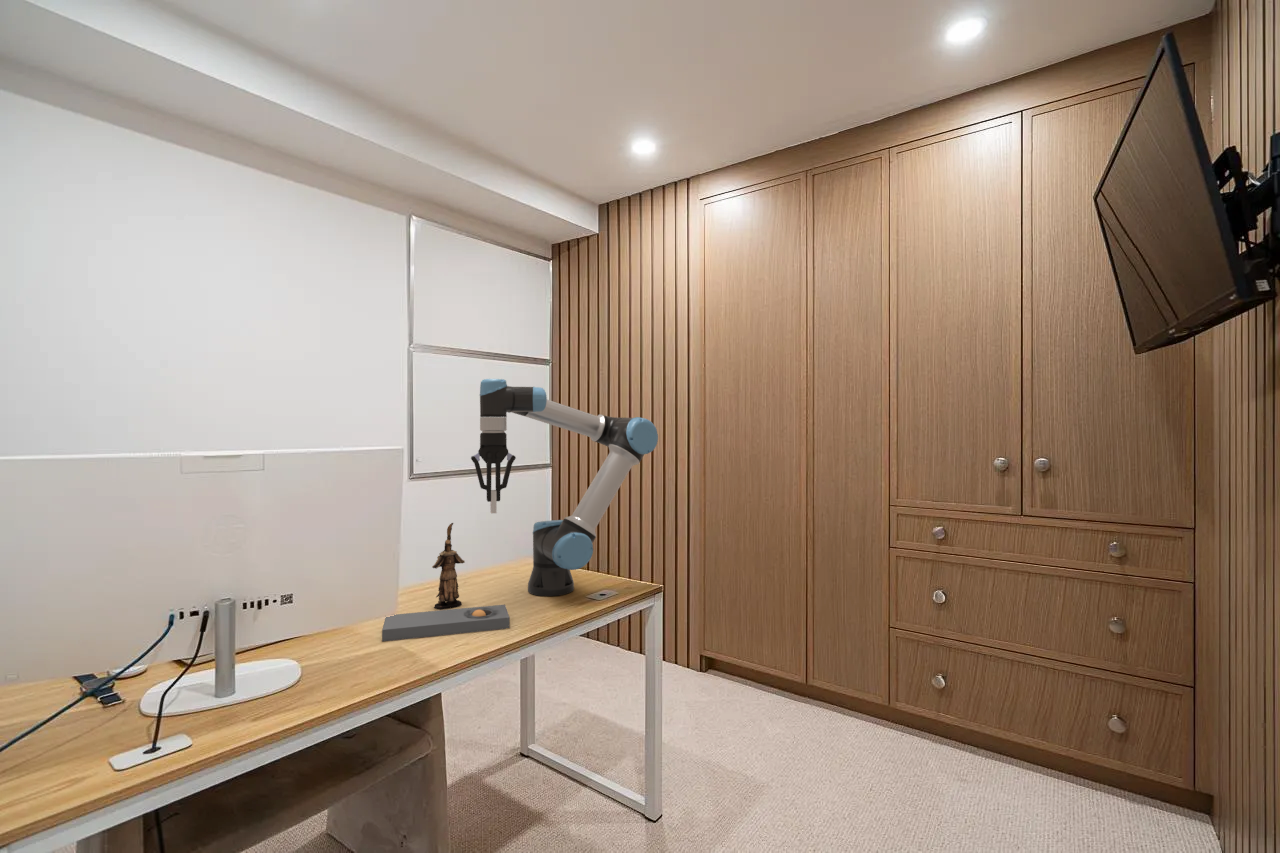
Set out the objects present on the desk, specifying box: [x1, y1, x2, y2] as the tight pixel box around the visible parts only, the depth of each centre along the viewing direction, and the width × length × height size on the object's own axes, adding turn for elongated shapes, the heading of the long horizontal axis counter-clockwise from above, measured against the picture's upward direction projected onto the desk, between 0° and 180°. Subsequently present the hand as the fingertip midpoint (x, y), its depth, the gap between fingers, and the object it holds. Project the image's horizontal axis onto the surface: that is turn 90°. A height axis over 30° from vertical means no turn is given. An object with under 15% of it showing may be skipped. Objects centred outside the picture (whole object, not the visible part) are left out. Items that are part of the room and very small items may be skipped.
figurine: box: [431, 522, 466, 611], centre depth 185 cm, size 6×10×25 cm
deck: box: [381, 604, 511, 643], centre depth 167 cm, size 32×12×3 cm, turn 108°
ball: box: [472, 610, 486, 616], centre depth 169 cm, size 4×4×4 cm
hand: (493, 512), depth 179 cm, fingers closed
